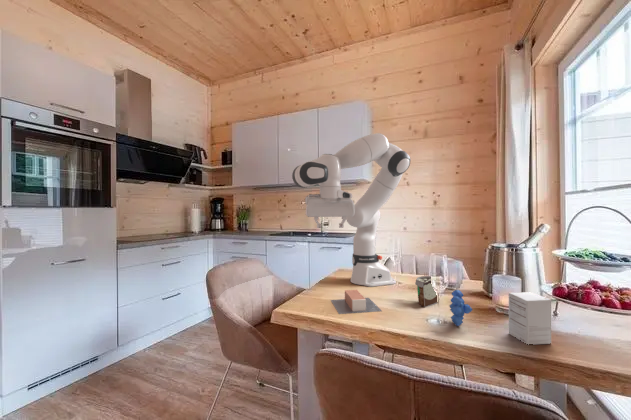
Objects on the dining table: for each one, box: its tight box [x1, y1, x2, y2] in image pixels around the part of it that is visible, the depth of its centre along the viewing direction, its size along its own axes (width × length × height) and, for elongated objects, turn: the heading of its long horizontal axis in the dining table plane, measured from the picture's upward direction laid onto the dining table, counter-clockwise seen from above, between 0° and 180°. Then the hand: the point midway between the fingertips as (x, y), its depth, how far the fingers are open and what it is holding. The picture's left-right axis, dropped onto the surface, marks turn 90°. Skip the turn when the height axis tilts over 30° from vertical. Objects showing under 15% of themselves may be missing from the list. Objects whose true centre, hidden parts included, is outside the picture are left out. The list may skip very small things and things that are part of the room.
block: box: [344, 289, 366, 311], centre depth 109 cm, size 5×4×12 cm
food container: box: [414, 275, 438, 309], centre depth 114 cm, size 12×6×10 cm, turn 124°
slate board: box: [330, 297, 383, 315], centre depth 109 cm, size 16×15×1 cm
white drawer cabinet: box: [508, 291, 552, 346], centre depth 83 cm, size 7×7×13 cm
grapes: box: [449, 289, 473, 327], centre depth 92 cm, size 12×7×12 cm, turn 148°
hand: (330, 227), depth 118 cm, fingers open, 8 cm apart
